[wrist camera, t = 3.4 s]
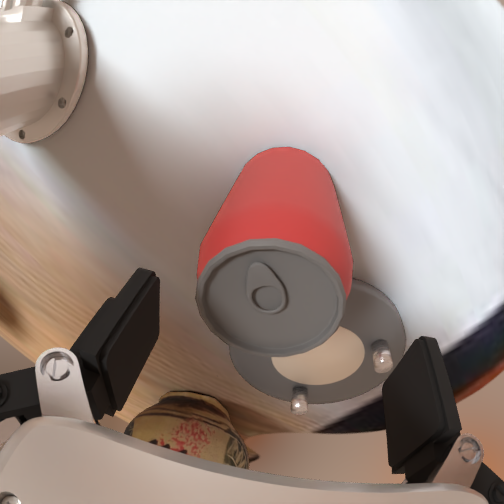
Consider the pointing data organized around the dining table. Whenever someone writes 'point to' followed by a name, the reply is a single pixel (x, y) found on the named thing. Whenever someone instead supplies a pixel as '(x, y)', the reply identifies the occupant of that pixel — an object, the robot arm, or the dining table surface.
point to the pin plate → (333, 354)
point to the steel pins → (381, 365)
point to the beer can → (276, 258)
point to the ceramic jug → (191, 428)
